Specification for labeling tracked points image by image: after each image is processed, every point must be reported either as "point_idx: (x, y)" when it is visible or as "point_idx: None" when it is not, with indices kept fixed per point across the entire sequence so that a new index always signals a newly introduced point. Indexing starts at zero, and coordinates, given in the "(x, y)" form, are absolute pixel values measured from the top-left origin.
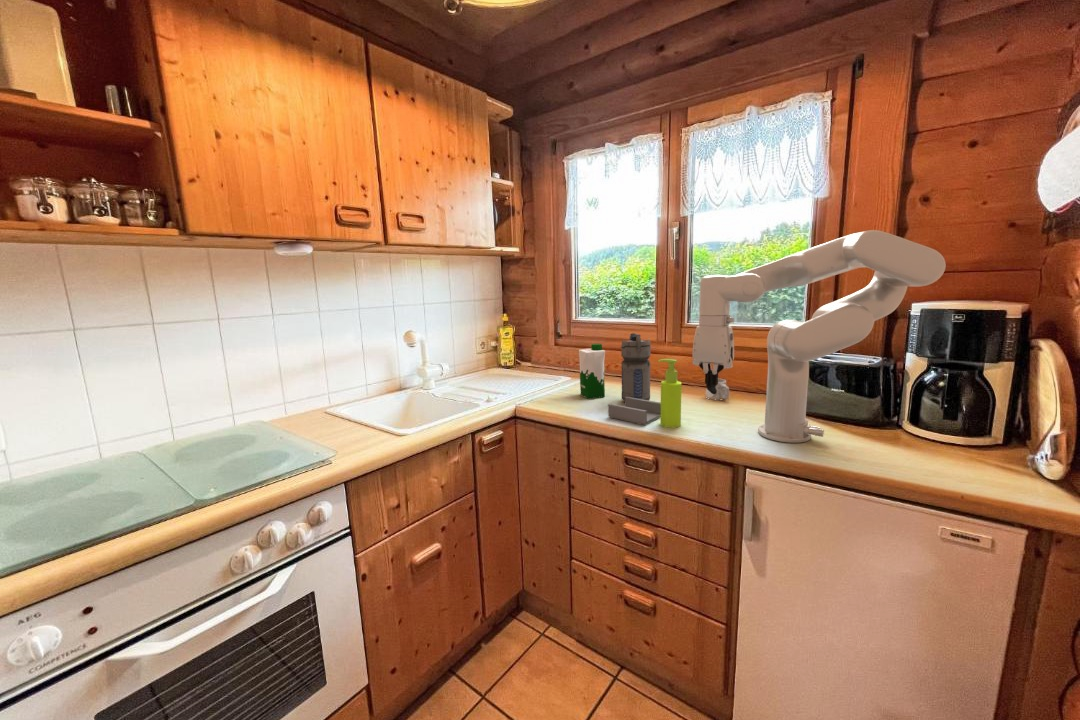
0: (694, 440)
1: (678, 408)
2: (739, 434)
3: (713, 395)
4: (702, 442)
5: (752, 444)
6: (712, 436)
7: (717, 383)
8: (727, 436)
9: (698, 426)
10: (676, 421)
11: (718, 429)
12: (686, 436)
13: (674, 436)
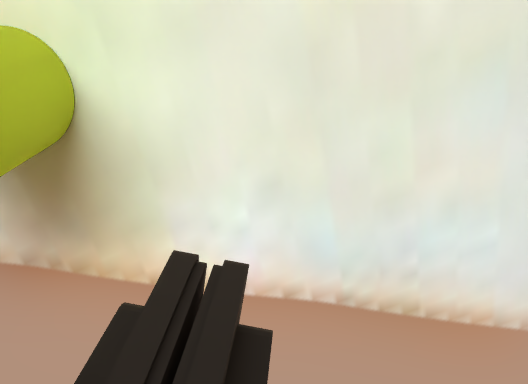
0: None
1: (3, 157)
2: (432, 97)
3: None
4: (261, 294)
5: (502, 229)
6: (289, 195)
7: (270, 339)
8: (366, 162)
9: (173, 53)
10: (48, 141)
11: (300, 57)
12: (168, 248)
13: (118, 269)
